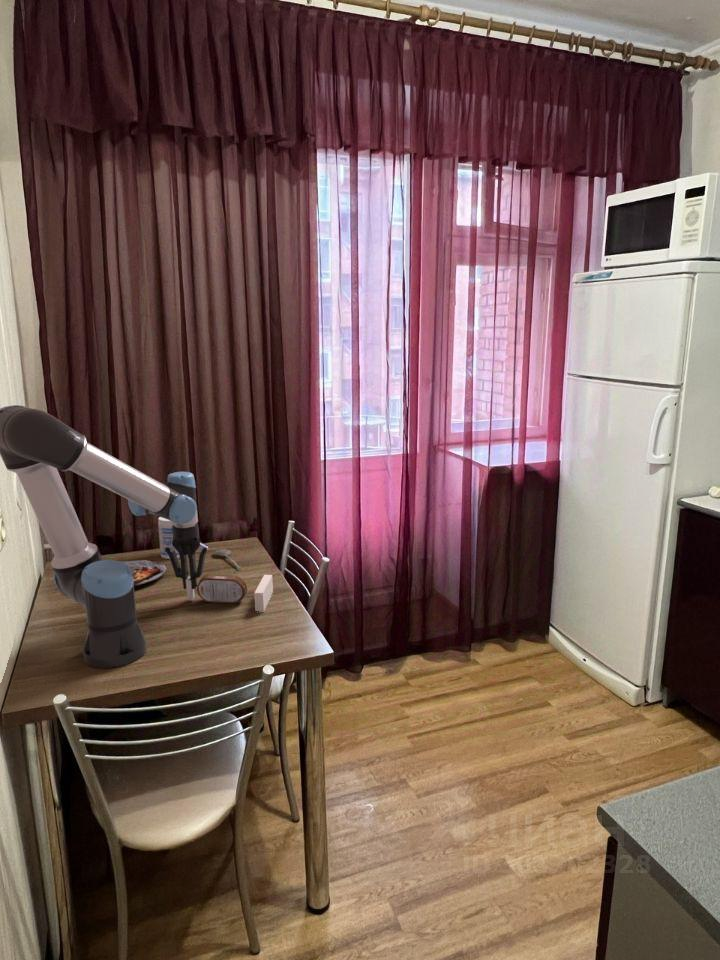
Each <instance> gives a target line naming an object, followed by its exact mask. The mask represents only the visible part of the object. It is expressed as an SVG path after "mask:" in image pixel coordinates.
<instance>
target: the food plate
mask: <svg viewBox="0 0 720 960" xmlns="http://www.w3.org/2000/svg"><path fill="white" fill-rule="evenodd" d="M123 562H124V563H126V564H127V565H128V566H129V567H130V569H131V571H132V576H133V577H134V578H133V579H134V587H137V586H138V587H139V586H141V585H145V584H147V583H150V582H152V581H156V580H158V579H160V578H162V577H163V576H164V575H165V574H166V573H167V572H168V567H167V566H166V565H165V564H163V563H161V562H160V563H159V562H155V561H152V560H148V559H147V560H146V559H145V560H144V559H139V560H136V559H135V560H129V561H123ZM132 568H140V569H141V570H139V572H137V573H135V572H136V571H134V570H132ZM150 569H152V570H150Z"/></svg>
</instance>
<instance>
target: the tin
mask: <svg viewBox="0 0 720 960" xmlns="http://www.w3.org/2000/svg"><path fill="white" fill-rule="evenodd" d="M196 592H197V595H198V597H200V599H202V600H203V601H204V602H207V603H216V604H219V603H222V604H237V603H239V602H241V601H242V600H243V599H244V597H245V596H246V594H247V592H248V586H247V584H246V582H245V581H244V579H243V578H241V577H240V576H238V575H231V574H213V573H212V574H211V573H210V574H209V573H208V574H205V575H204V576H202V577H201V578H200V580H199V581H198V582H197V587H196Z"/></svg>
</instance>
